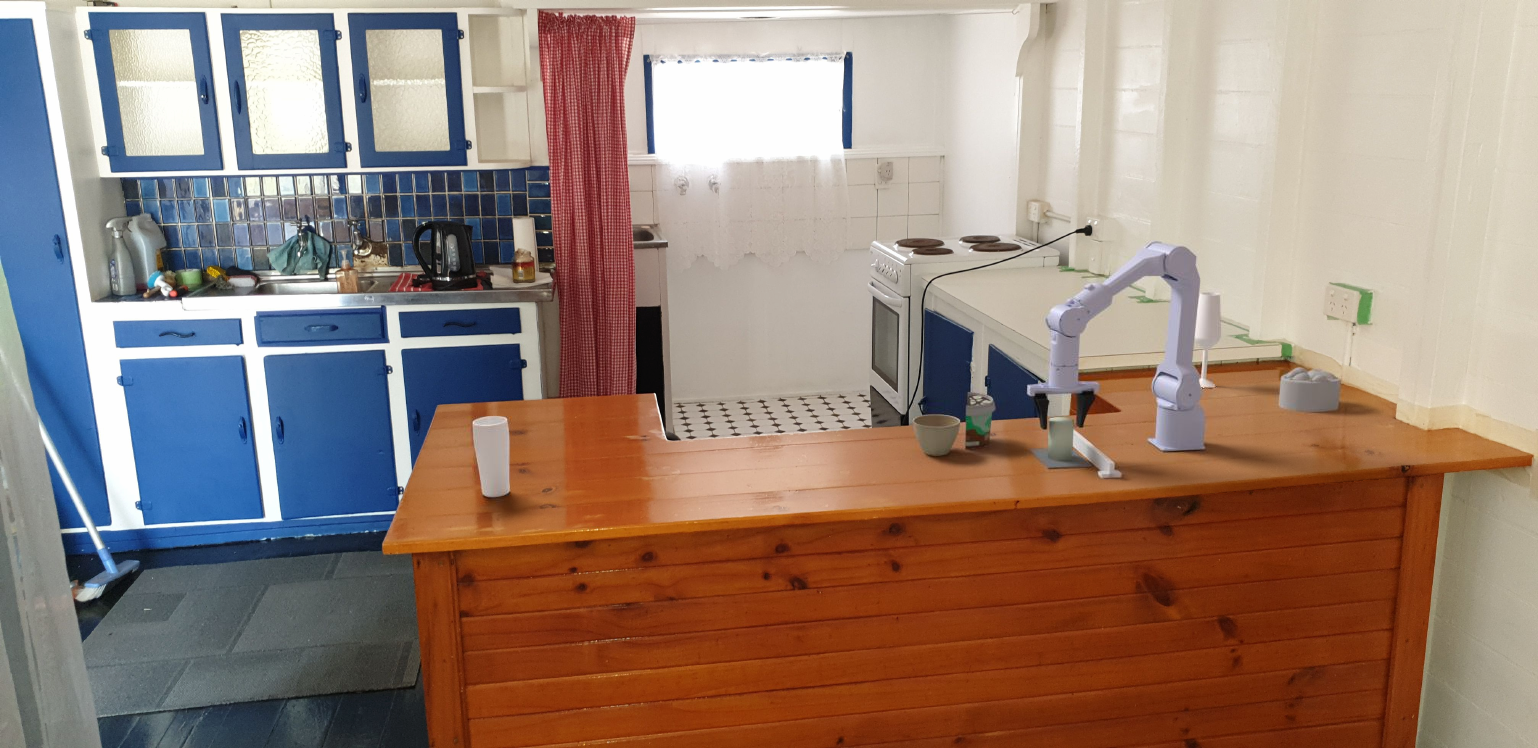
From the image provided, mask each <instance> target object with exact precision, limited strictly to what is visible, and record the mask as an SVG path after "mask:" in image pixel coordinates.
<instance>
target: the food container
mask: <svg viewBox="0 0 1538 748" xmlns="http://www.w3.org/2000/svg"><path fill="white" fill-rule="evenodd" d="M995 411H996V404H995V401H994V399H993V397H992V396H990V395H988V394H984V393H980V392H973V391H971V392H970V391H968V392H967V404H966V406H965V443H964V447H965V450H977V449H982V448H986V447H988V446H989V444H990V438H991V427H992V426H991V425H992V417H993V416H992V415H993V412H995Z"/></svg>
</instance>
